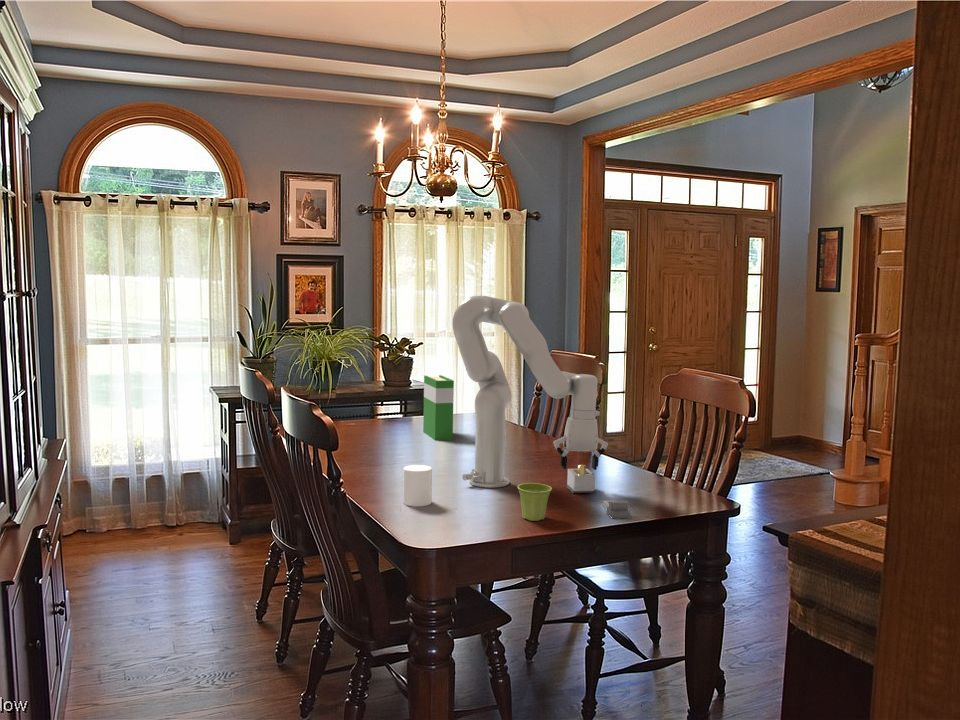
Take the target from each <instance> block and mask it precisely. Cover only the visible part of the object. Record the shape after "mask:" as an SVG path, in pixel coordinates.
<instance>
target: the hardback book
mask: <svg viewBox="0 0 960 720" xmlns="http://www.w3.org/2000/svg"><path fill="white" fill-rule="evenodd" d="M454 386H455V381H454V380H453V379H451V378H450V377H449V378H448V377H446V376H444V375H442V374H440V375H438V376H429V375H423V417H422V418H423V425H422V426H423V427H422V428H423V430H422V432H423V433H424V434H425V435H426V436H428V437H429V438H431V439H432V440H433V441H450V440H451V441H452V440H453V439H454V437H453V434H454V433H453V432H454V400H455V399H454V394H455V393H454V391H455V390H454V389H455V388H454Z"/></svg>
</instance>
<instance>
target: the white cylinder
mask: <svg viewBox="0 0 960 720" xmlns="http://www.w3.org/2000/svg"><path fill="white" fill-rule="evenodd" d="M402 479H403V480H402V484H403V485H402V503H403V504H404V505H405V506H409V507H414V508H416V507H426V506H430V505H431V504H432V500H433V497H432V496H433V495H432V493H433V467H431V466H430V465H425V464H409V465H406V466H404V467H403V474H402Z"/></svg>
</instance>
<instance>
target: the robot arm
mask: <svg viewBox="0 0 960 720" xmlns="http://www.w3.org/2000/svg"><path fill="white" fill-rule="evenodd" d="M452 317H453V318H452V322H451V323H452V330H453V335H454V337H455V340H456V341H455V342H457V343H456V344H457V346H458V349H459V353H460V355H461V358H462V361H463V364H464V367H465V371H466V374H467V376H468V378H469V379H470V380H472V382H475V383H478V384H477V385H478V387H479V391H477V394H475V395H476V396H475V399H474V414H475V416H474V417H475V446H474V448H475V450H474V468H473V469H472V470H471V472H470V473H464V474H463V475H462V480H463V481H469V484H471V485H472V486H474V487H479V488H486V489H487V488H490V489H491V488H493V489H494V488H496V489H497V488H502V487H506V486H508V485H509V484H510V479H509V478H508V477H506V476H505V467H506V465H505V464H506V429H507V428H506V425H507V424H506V408H507V407H508V406H509V405H510V403H511V401H512V391H511V387H510V385H509V382H508V378H507V376H506V373H505V370H504V367H503V364H502V361H500V359H499V357H498V355H496V354H495V353H494V352H492V351H490V350H489V349H488V346H487V344H486V341H485V337H484V335H483V333H482V331H481V328H480V323H488V324H493V325H496V326H501V327H502V328H503V330H504V332H505V333H506V334H507V335H508V337H509V338H510V340H512V342H513V344H514V345H515V346H516V348H517V349H518V351H519V352H520V354H521V356H523V358H524V360H525V362H526V364H527V366H528V367H529V369H530V371H531V372H532V374H533V376H534V377H535V379H536V381H538V383H539V384H540V385H541V387H542V388H543V390H544V391H545V392H546V394H548V396H550V397H551V398H553V399H563V398H566V396H569V395H571V407H570V416H568V417H567V419H566V422H565V423H566V424H565V428H564V434H563V436H561V437H560V438H557V439H555V440H553V441H552V442H553V445H554V448H555V450H556V451H557V452H558V453H559V455H560V463H559V464H560V467H561V468H562V470H567V469H568V468H567V465H568V457H567V455H568V453H570V452H591V453H592V454H593V455H592V456H591V469H593V470H594V471H597V468H598V467H599V462H600V461H599V460H600V457H601V455H603V453H605V451H606V449H607V448H608V446H609V443H608V442H607V441H605V440H603V439H601V438H599V430H598V429H599V427H598V420H597V418H596V417H597V416H600V414H601V412H600V411H599V410H596V409H597V396H598V395H597V394H598V378H597V376H595V375H593V374H586V373H579V374H577V373H572V372H567V371H563V370H562V371H561V370H560V368H559V367H558V365H557V364H556V362H555V361H554V359H553V357H552V356H551V353H550V351H549V348H548V344H547V343H548V342H547V341H546V339H545V337H544V336H543V335H542V333H541V332H540V331H539V329H538V327H537V326H536V325H535V324H534V322H533V320H531V318H530V313H529V310H528V308H527V307H526V305H524V304H523V303H521V302H518V301H513V300H507V299H502V298H498V297H497V298H496V297H492V296H488V295H474V296H473V295H472V296H470V297H467V298H465V299H464V300H463V301H461V302H460V303H459V305H458V306H457V307H456V308H455V311H454V312H453V316H452ZM560 444H562V445H563V448H561V447H560ZM599 444H600V445H601V447H600V448H599V449H598V446H599Z"/></svg>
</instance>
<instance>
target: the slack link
mask: <svg viewBox="0 0 960 720" xmlns="http://www.w3.org/2000/svg"><path fill="white" fill-rule="evenodd" d="M609 501H610V500H602V507H603V506H604V507H605V508H606V509H607V507H609ZM604 507H603V508H604ZM605 508H604V509H605ZM606 509H605V510H606Z"/></svg>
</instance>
